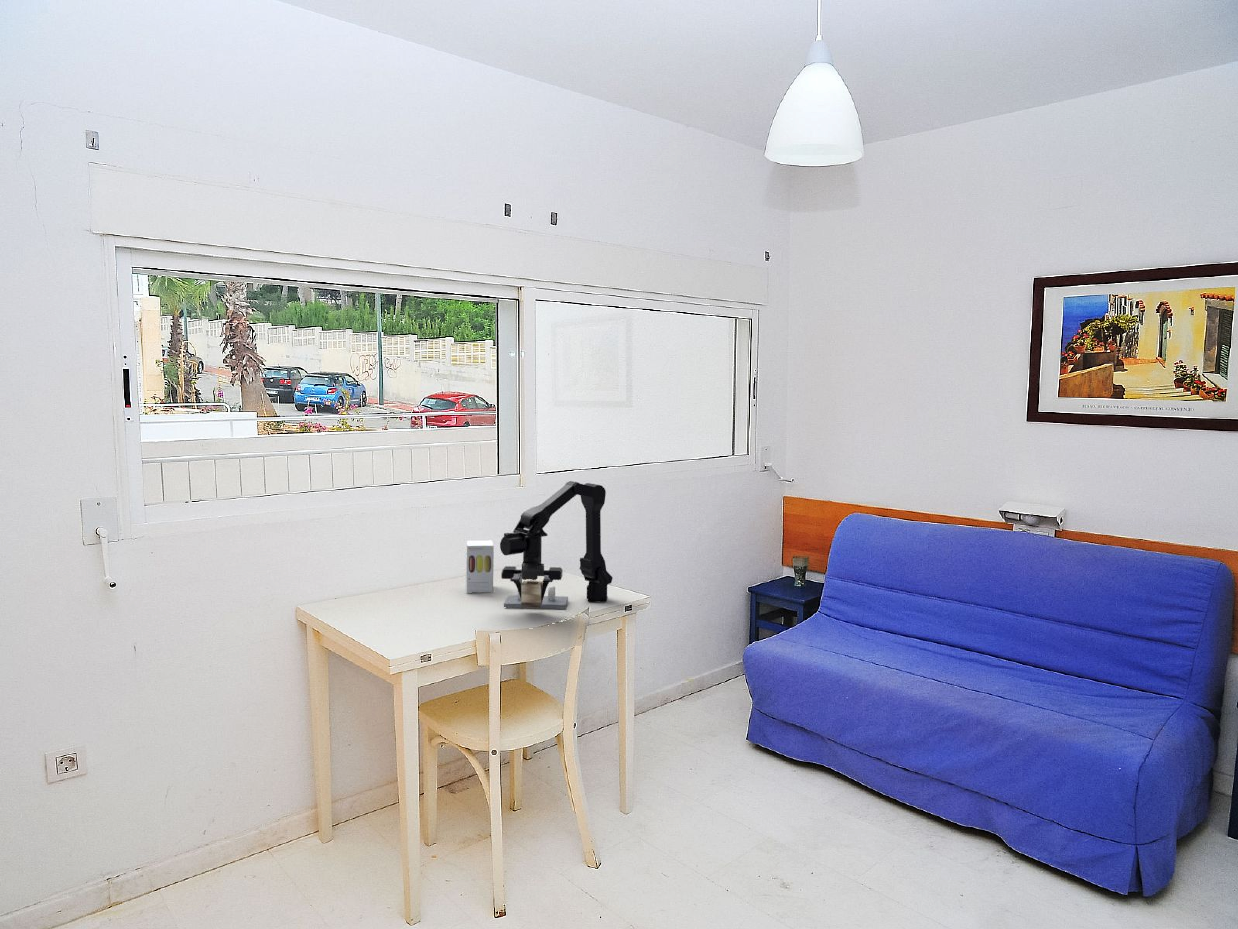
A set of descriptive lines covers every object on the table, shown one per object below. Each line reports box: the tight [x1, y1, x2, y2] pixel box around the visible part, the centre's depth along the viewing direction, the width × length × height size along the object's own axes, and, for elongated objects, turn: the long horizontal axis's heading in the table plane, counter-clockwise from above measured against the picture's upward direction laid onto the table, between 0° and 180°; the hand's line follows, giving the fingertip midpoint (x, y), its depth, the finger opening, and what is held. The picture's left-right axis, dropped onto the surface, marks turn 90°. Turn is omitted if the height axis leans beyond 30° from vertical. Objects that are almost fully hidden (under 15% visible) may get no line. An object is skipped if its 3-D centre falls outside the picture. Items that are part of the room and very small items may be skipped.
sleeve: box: [521, 579, 543, 607], centre depth 256 cm, size 6×6×7 cm
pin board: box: [503, 585, 569, 610], centre depth 267 cm, size 20×10×6 cm, turn 89°
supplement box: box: [465, 540, 495, 594], centre depth 284 cm, size 10×9×17 cm
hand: (532, 599), depth 256 cm, fingers closed on sleeve, 6 cm apart
